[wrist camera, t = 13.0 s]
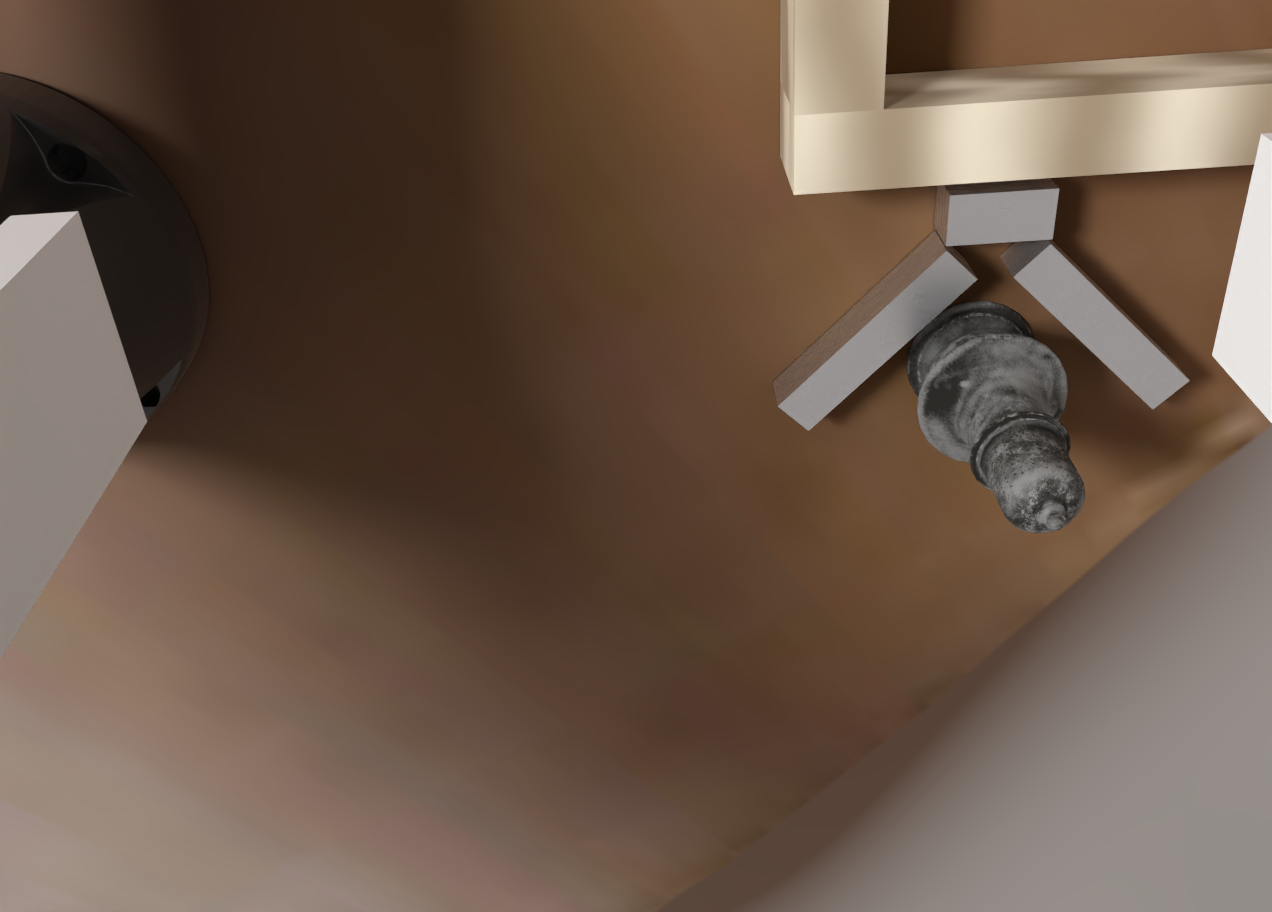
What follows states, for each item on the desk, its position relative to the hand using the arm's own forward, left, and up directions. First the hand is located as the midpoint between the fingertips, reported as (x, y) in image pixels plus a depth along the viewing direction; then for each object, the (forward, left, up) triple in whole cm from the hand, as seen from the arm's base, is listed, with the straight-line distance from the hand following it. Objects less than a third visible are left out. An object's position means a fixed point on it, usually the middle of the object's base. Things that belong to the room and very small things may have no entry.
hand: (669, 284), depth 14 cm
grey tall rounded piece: (+13, -19, -32) cm, 39 cm away
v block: (+13, -16, -32) cm, 38 cm away
